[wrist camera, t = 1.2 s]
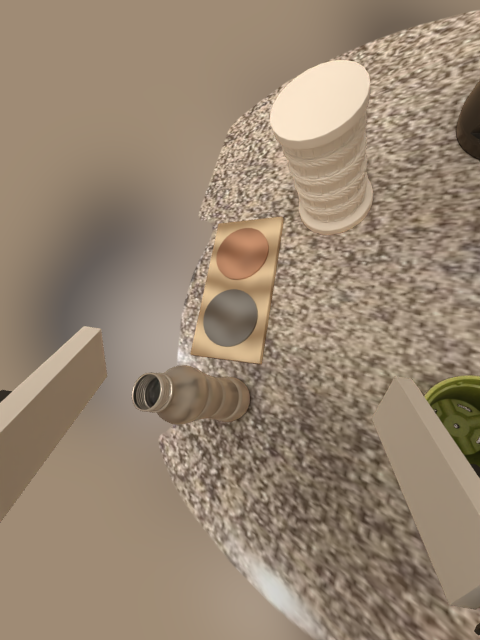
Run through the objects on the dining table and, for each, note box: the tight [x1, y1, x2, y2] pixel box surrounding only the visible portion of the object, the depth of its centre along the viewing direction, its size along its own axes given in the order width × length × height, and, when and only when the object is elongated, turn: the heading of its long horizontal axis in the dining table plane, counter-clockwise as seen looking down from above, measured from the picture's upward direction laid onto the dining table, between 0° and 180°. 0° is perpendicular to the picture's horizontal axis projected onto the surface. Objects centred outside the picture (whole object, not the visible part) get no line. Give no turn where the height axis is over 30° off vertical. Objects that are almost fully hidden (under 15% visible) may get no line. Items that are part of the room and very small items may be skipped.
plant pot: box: [424, 375, 480, 467], centre depth 28 cm, size 9×9×9 cm
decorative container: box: [270, 60, 373, 235], centre depth 39 cm, size 12×12×18 cm
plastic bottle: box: [132, 365, 250, 425], centre depth 35 cm, size 6×7×20 cm
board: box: [191, 217, 284, 364], centre depth 49 cm, size 26×13×2 cm, turn 168°
